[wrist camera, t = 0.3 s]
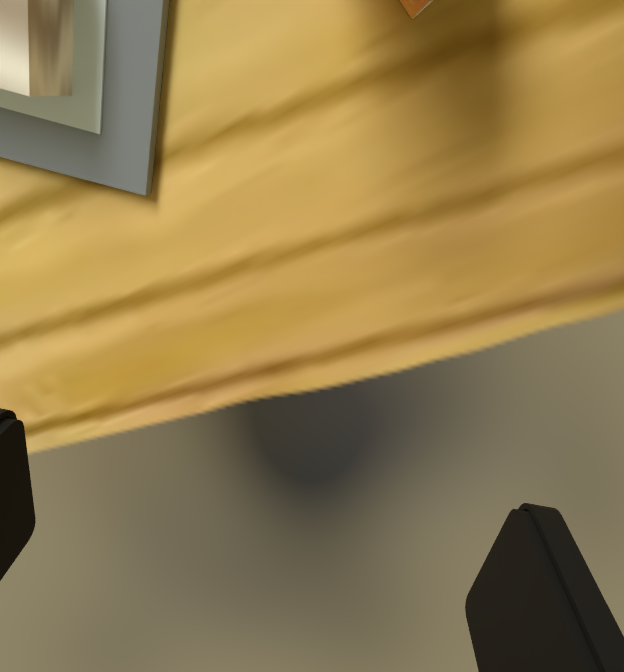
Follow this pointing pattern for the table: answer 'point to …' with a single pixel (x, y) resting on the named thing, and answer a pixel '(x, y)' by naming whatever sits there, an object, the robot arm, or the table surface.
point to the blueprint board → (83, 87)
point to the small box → (414, 6)
